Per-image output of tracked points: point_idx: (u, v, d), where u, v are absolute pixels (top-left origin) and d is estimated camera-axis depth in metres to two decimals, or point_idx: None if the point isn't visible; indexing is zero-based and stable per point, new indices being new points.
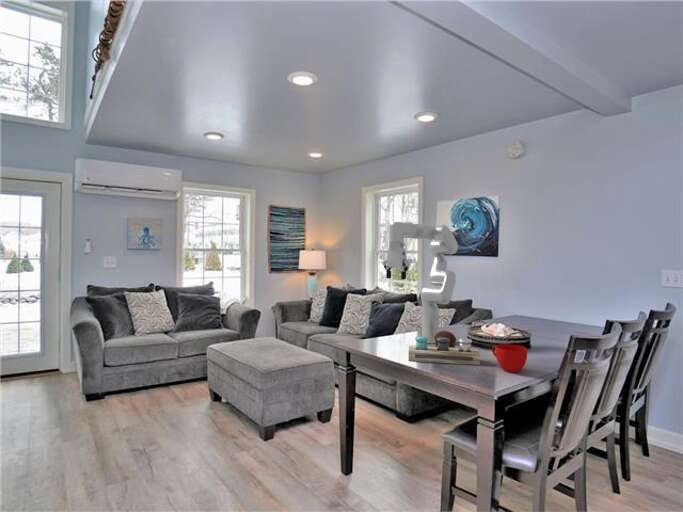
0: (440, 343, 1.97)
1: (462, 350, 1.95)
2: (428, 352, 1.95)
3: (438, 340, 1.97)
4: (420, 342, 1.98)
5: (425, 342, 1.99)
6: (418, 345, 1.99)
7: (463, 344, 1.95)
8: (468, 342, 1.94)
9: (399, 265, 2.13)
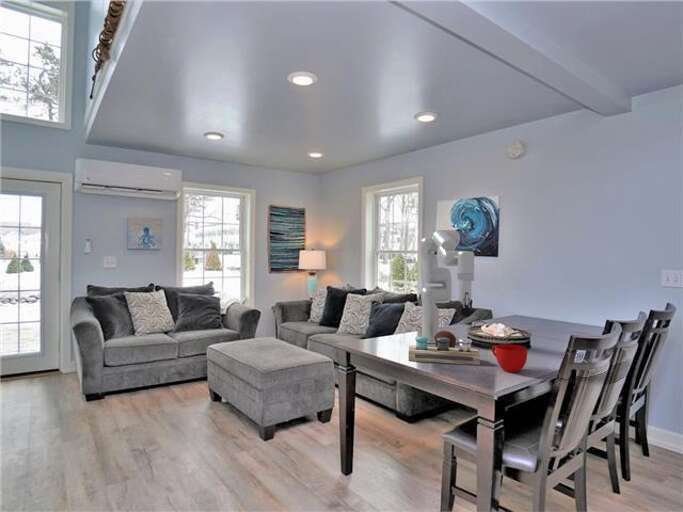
0: (440, 343, 1.97)
1: (462, 350, 1.95)
2: (428, 352, 1.95)
3: (438, 340, 1.97)
4: (420, 342, 1.98)
5: (425, 342, 1.99)
6: (418, 345, 1.99)
7: (463, 344, 1.95)
8: (468, 342, 1.94)
9: None
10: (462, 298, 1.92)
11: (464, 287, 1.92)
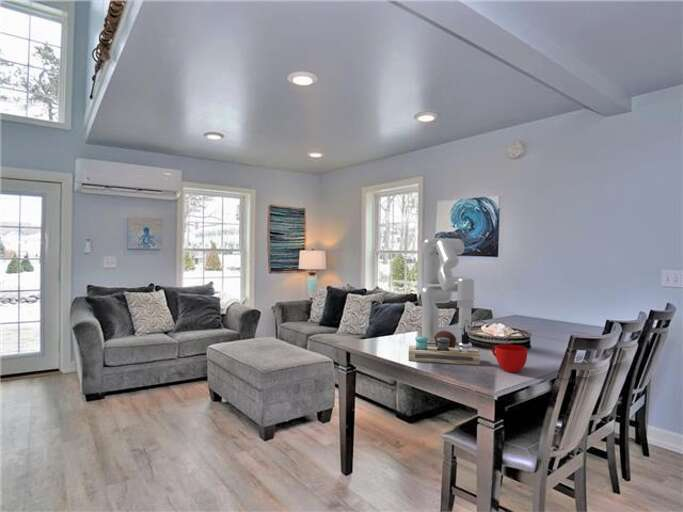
0: (440, 343, 1.97)
1: None
2: (428, 352, 1.95)
3: (438, 340, 1.97)
4: (420, 342, 1.98)
5: (425, 342, 1.99)
6: (418, 345, 1.99)
7: (463, 348, 1.95)
8: (468, 346, 1.94)
9: None
10: (462, 325, 1.92)
11: (464, 314, 1.92)
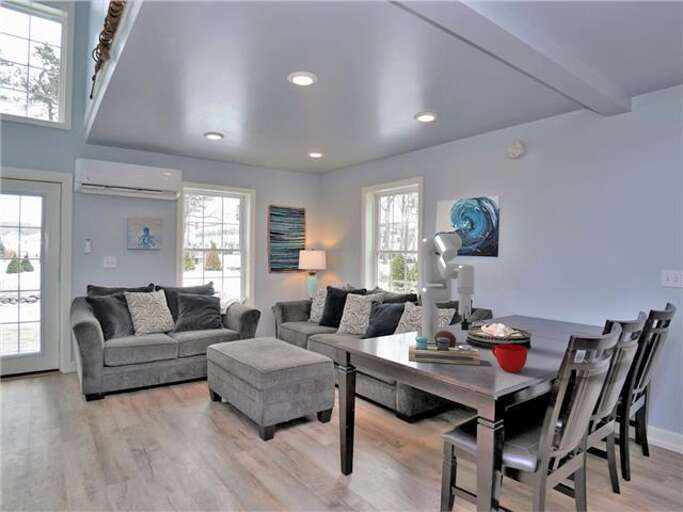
0: (440, 343, 1.97)
1: None
2: (428, 352, 1.95)
3: (438, 340, 1.97)
4: (420, 342, 1.98)
5: (425, 342, 1.99)
6: (418, 345, 1.99)
7: (463, 351, 1.95)
8: (468, 349, 1.94)
9: None
10: (462, 312, 1.92)
11: (463, 301, 1.92)
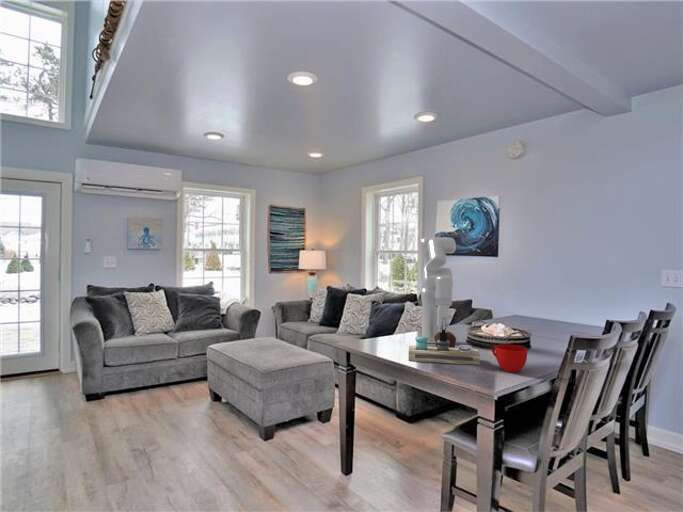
0: (440, 345, 1.97)
1: None
2: (428, 352, 1.95)
3: (438, 342, 1.97)
4: (420, 342, 1.98)
5: (425, 342, 1.99)
6: (418, 345, 1.99)
7: (463, 351, 1.95)
8: (468, 349, 1.94)
9: None
10: (439, 323, 1.94)
11: (441, 312, 1.94)
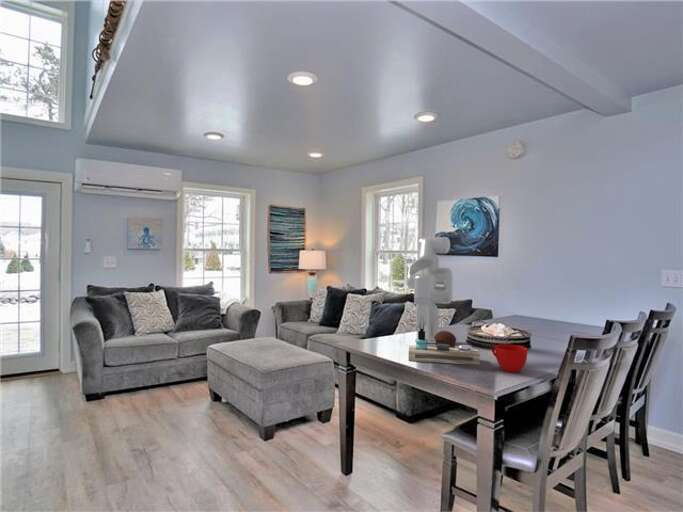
0: (440, 350, 1.97)
1: None
2: (428, 352, 1.95)
3: (438, 347, 1.97)
4: (420, 344, 1.98)
5: (425, 344, 1.99)
6: (418, 347, 1.99)
7: (463, 351, 1.95)
8: (468, 349, 1.94)
9: None
10: (417, 322, 1.96)
11: (419, 311, 1.96)
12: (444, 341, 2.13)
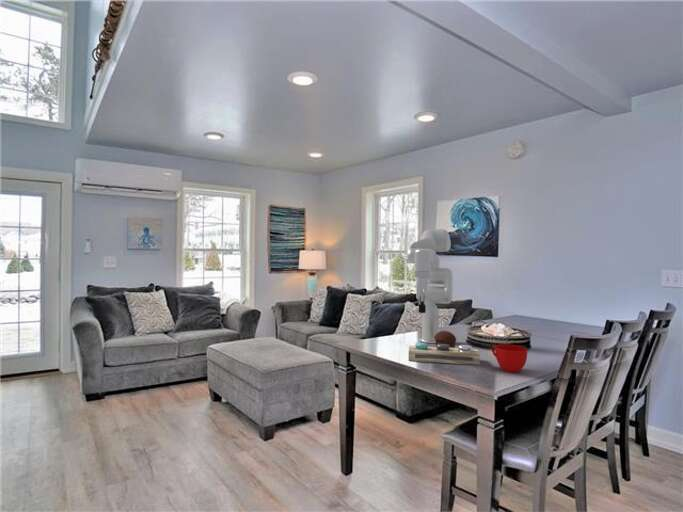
0: (440, 350, 1.97)
1: None
2: (428, 352, 1.95)
3: (438, 347, 1.97)
4: (420, 348, 1.98)
5: (425, 348, 1.99)
6: None
7: (463, 351, 1.95)
8: (468, 349, 1.94)
9: None
10: (418, 295, 1.97)
11: (420, 284, 1.97)
12: (444, 341, 2.13)
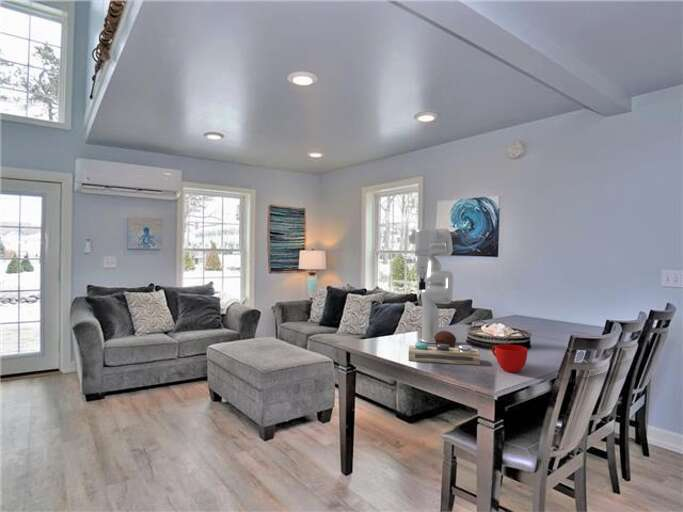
0: (440, 350, 1.97)
1: None
2: (428, 352, 1.95)
3: (438, 347, 1.97)
4: (420, 348, 1.98)
5: (425, 348, 1.99)
6: None
7: (463, 351, 1.95)
8: (468, 349, 1.94)
9: None
10: (418, 272, 2.07)
11: (420, 262, 2.08)
12: (444, 341, 2.13)
